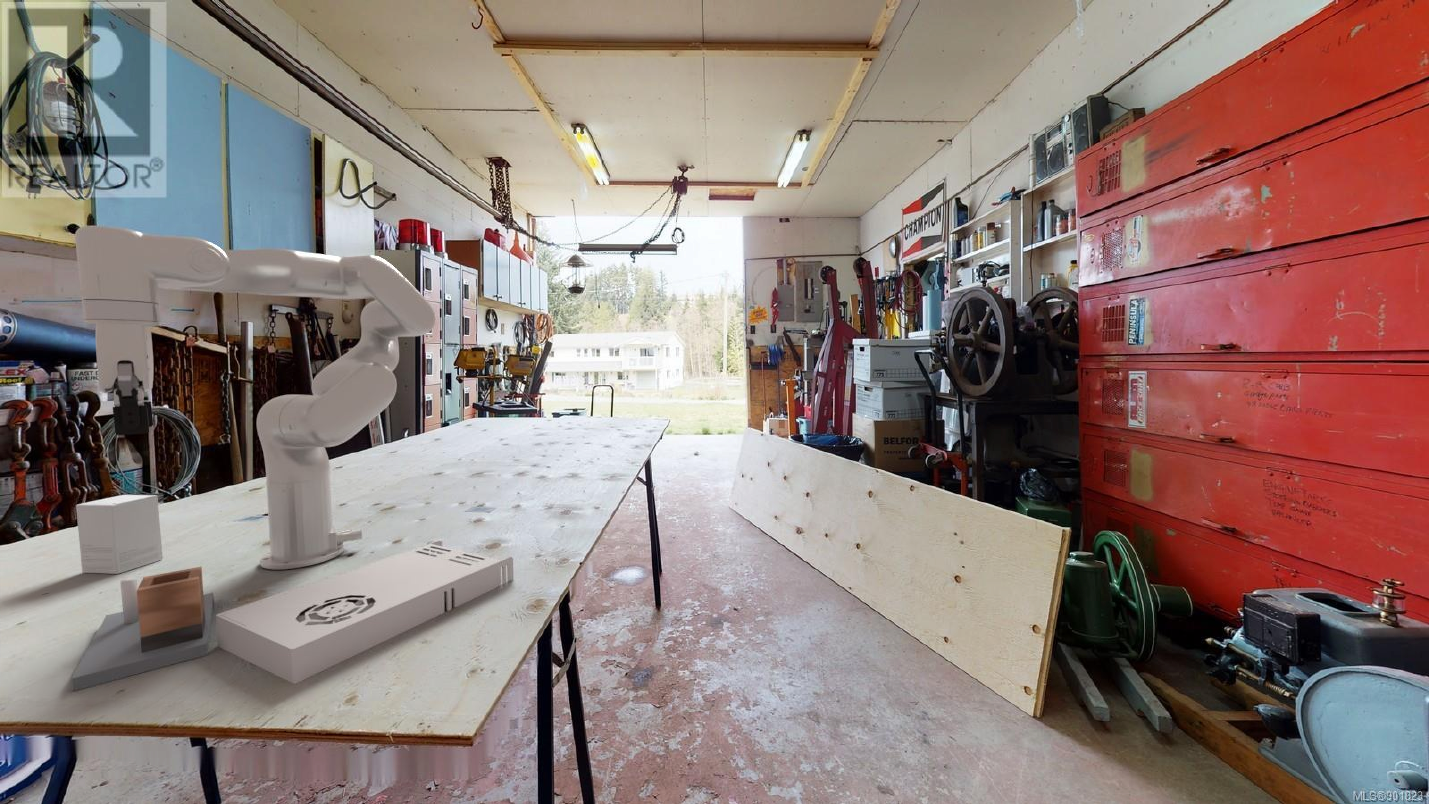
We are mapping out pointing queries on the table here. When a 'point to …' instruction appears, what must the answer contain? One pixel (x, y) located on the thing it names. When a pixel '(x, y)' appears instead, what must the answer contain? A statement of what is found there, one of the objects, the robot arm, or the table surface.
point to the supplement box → (119, 533)
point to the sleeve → (171, 608)
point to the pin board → (133, 644)
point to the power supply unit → (355, 609)
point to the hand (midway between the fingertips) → (135, 430)
